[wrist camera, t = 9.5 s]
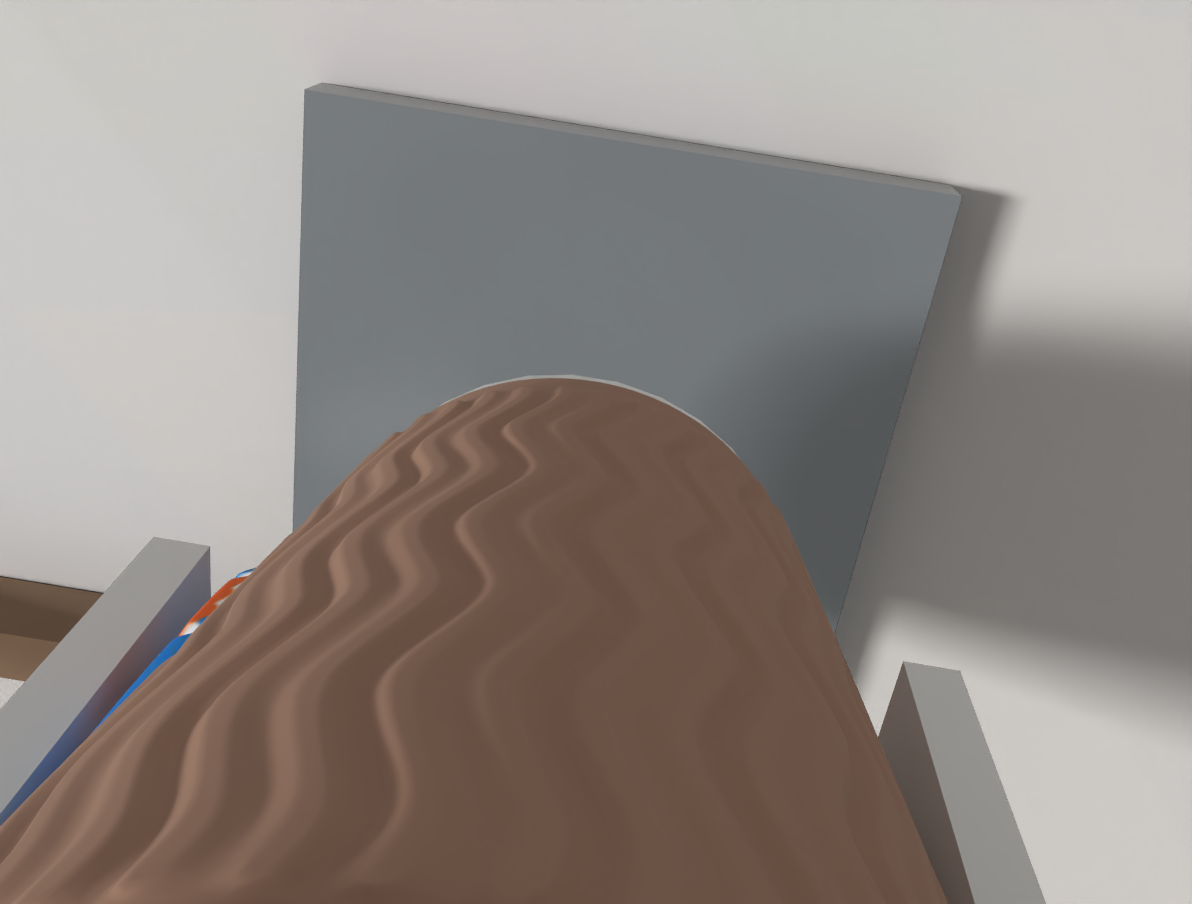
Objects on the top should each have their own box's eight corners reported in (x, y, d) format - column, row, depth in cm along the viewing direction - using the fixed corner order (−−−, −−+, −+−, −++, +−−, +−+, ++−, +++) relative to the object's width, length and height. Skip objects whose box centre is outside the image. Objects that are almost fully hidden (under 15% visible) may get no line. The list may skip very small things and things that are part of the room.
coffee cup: (169, 305, 16) (-896, 1058, 5) (877, 211, 15) (1397, 968, 4) (342, 828, 20) (-52, 1839, 10) (903, 794, 19) (1189, 1931, 8)
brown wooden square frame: (372, 1053, 32) (353, 1119, 31) (-123, 970, 32) (-171, 1031, 31) (406, 643, 26) (385, 696, 24) (-213, 541, 26) (-281, 587, 24)
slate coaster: (804, 691, 26) (809, 719, 25) (303, 609, 26) (290, 633, 25) (950, 184, 20) (962, 196, 20) (321, 82, 20) (304, 89, 20)
